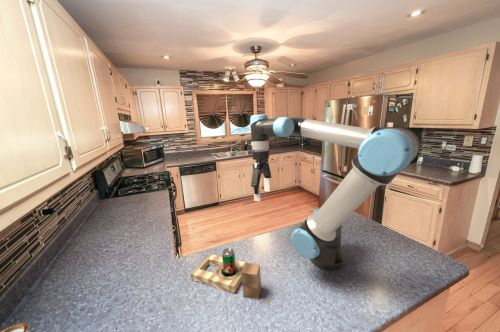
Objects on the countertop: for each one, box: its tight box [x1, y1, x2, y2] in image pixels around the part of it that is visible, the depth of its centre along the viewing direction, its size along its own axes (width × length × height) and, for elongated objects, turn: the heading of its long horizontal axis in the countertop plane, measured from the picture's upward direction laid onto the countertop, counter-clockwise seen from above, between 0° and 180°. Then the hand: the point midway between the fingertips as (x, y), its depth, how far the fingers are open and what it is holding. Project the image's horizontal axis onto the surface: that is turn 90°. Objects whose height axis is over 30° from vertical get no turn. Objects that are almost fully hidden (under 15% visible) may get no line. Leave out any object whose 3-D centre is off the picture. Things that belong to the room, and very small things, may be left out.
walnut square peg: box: [241, 262, 262, 300], centre depth 76 cm, size 6×6×10 cm
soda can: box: [221, 247, 237, 277], centre depth 84 cm, size 5×5×12 cm
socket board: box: [190, 253, 247, 294], centre depth 86 cm, size 20×14×3 cm
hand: (262, 195), depth 96 cm, fingers open, 13 cm apart
